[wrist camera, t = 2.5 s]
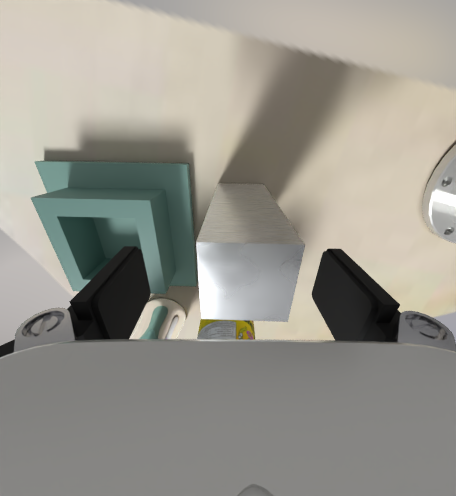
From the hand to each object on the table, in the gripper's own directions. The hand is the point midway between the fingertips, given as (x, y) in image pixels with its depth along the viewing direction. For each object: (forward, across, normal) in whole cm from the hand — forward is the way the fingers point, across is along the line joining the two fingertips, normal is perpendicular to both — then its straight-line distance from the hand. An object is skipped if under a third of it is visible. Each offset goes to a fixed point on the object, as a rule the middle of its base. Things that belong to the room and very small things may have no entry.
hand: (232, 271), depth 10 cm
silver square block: (+12, -1, 0) cm, 12 cm away
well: (+12, +11, +3) cm, 16 cm away
